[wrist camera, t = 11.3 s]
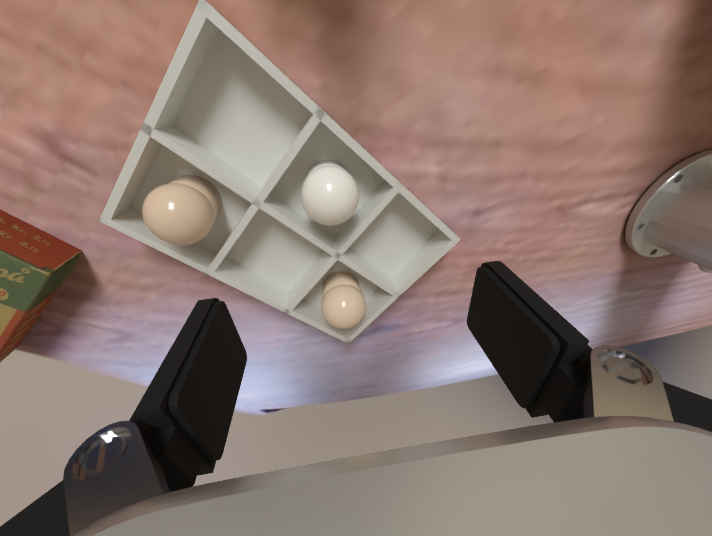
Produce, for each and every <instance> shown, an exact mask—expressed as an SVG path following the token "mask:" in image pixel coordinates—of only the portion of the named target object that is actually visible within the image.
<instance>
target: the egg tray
mask: <svg viewBox="0 0 712 536" xmlns="http://www.w3.org/2000/svg"><path fill="white" fill-rule="evenodd" d="M321 160H333V161H336V162H338V163H340V164H342V165H343V166H344V167H345V168H346V169H347V171H348V173H349V174H350V175H351V176H352V177H353V178H354V180H355V181H356V183H357V186H358V190H359V203H358V207H357V209H356V211H355V213H354V214H353V215H352V216H351V217H350V218H349V219H348V220H347V221H345V222H344V223H341V224H339V225H333V226H328V225H323V224H320V223H318V222H316V221H314V220H313V219H312V218H311V217H310V216H309V215H308V214H307V213H306V211H305V209H304V207H303V205H302V201H301V188H302V185H303V182H304V180H305V176H306V173H307V171H308V170H309V168H310V167H311V166H312V165H313V164H315V163H316V162H318V161H321ZM182 175H195V176H199V177H202V178H204V179H206V180H207V181H209V182H210V183H211V184H212V185H213V186H214V187H215V188H216V189H217V190H218V192H219V194H220V196H221V199H222V209H221V212H220V214H219V215H218V216H217V218H216V219H215V221H214V224H213V227H212V229H211V231H210V232H209V234H208V235H207V236H206V237H205V238H203V239H202V240H200V241H198V242H196V243H193V244H189V245H175V244H171V243H167V242H165V241H163V240H161V239H159V238H158V237H156V236H155V235H154V234H153V233H152V232H151V231H150V230H149V229H148V228H147V226H146V224H145V222H144V220H143V215H142V207H143V203H144V200H145V198H146V197H147V195H148V194H149V193H150V192H151V191H152V190H154V189H155V188H157V187H159V186H161V185H164V184H168V183H170V182H171V181H173V180H174V179H176V178H177V177H179V176H182ZM99 221H100V222H102V223H104V224H106V225H108V226H110V227H112V228H114V229H116V230H118V231H120V232H122V233H124V234H126V235H128V236H130V237H132V238H134V239H136V240H138V241H141V242H143V243H145V244H147V245H149V246H151V247H153V248H155V249H157V250H159V251H161V252H163V253H165V254H167V255H169V256H171V257H173V258H175V259H177V260H179V261H181V262H183V263H185V264H187V265H189V266H191V267H193V268H195V269H197V270H199V271H201V272H203V273H205V274H208V275H210V276H212V277H214V278H216V279H218V280H220V281H222V282H224V283H226V284H228V285H230V286H232V287H234V288H236V289H238V290H240V291H242V292H244V293H246V294H248V295H250V296H252V297H254V298H256V299H258V300H260V301H262V302H264V303H266V304H268V305H270V306H272V307H275V308H277V309H279V310H281V311H283V312H285V313H287V314H289V315H291V316H293V317H295V318H297V319H299V320H301V321H303V322H305V323H307V324H309V325H311V326H313V327H315V328H317V329H319V330H321V331H323V332H325V333H327V334H329V335H331V336H333V337H335V338H337V339H339V340H341V341H344V342H346V343H348V344H349V343H350V342H351V341H352V340H353V339H354V338H355V337H356V336H357V335H358V334H360V333H361V332H362V331H363V330H364V329H365V328H366V327H367V326H368V325H369V324H370V323H371V322H372V321H374V320H375V319H376V318H377V317H378V316H379V315H380V314H381V313H382V312H383V311H384V310H385V309H386V308H388V307H389V306H390V305H391V304H392V303H393V302H394V301H395V300H396V299H397V298H398V297H399V296H400V295H402V294H403V293H404V292H405V291H406V290H407V289H408V288H409V287H410V286H411V285H412V284H413V283H414V282H415V281H417V280H418V279H419V278H420V277H421V276H422V275H423V274H424V273H425V272H426V271H427V270H428V269H429V268H431V267H432V266H433V265H434V264H435V263H436V262H437V261H438V260H439V259H440V258H441V257H442V256H443V255H445V254H446V253H447V252H448V251H449V250H450V249H451V248H452V247H453V246H454V245H455V244H456V243H457V242H459V241H460V240H461V239H460V238H459V237H458V236H457V235H455V234H454V233H453V232H452V231H451V230H450V229H449V228H448V227H447V226H446V225H445V224H444V223H443V222H442V221H441V220H440V219H439V218H438V217H437V216H436V215H434V214H433V213H432V212H431V211H430V210H429V209H428V208H427V207H426V206H425V205H424V204H423V203H422V202H421V201H420V200H418V199H417V198H416V197H415V196H414V195H413V194H412V193H411V192H410V191H409V190H408V189H407V188H406V187H405V186H403V185H402V184H401V183H400V182H399V181H398V180H397V179H396V178H395V177H394V176H393V175H392V174H391V173H390V172H389V171H387V170H386V169H385V168H384V167H383V166H382V165H381V164H380V163H379V162H378V161H377V160H376V159H375V158H374V157H373V156H371V155H370V154H369V153H368V152H367V151H366V150H365V149H364V148H363V147H362V146H361V145H360V144H359V143H358V142H356V141H355V140H354V139H353V138H352V137H351V136H350V135H349V134H348V133H347V132H346V131H345V130H344V129H343V128H342V127H340V126H339V125H338V124H337V123H336V122H335V121H334V120H333V119H332V118H331V117H330V116H329V115H328V114H327V113H325V112H324V111H323V110H322V109H321V108H320V107H319V106H318V105H317V104H316V103H315V102H314V101H313V100H312V99H311V98H309V97H308V96H307V95H306V94H305V93H304V92H303V91H302V90H301V89H300V88H299V87H298V86H297V85H296V84H295V83H293V82H292V81H291V80H290V79H289V78H288V77H287V76H286V75H285V74H284V73H283V72H282V71H281V70H280V69H278V68H277V67H276V66H275V65H274V64H273V63H272V62H271V61H270V60H269V59H268V58H267V57H266V56H265V55H264V54H262V53H261V52H260V51H259V50H258V49H257V48H256V47H255V46H254V45H253V44H252V43H251V42H250V41H249V40H248V39H246V38H245V37H244V36H243V35H242V34H241V33H240V32H239V31H238V30H237V29H236V28H235V27H234V26H233V25H231V24H230V23H229V22H228V21H227V20H226V19H225V18H224V17H223V16H222V15H221V14H220V13H219V12H218V11H216V10H215V9H214V8H213V7H212V6H211V5H210V4H208V3H207V2H206V1H205V0H199V2H198V4H197V6H196V9H195V11H194V13H193V15H192V17H191V20H190V22H189V24H188V26H187V28H186V31H185V33H184V35H183V37H182V39H181V42H180V44H179V46H178V48H177V50H176V53H175V55H174V57H173V59H172V61H171V64H170V66H169V68H168V70H167V72H166V75H165V77H164V79H163V81H162V83H161V86H160V88H159V90H158V92H157V94H156V97H155V99H154V101H153V103H152V105H151V108H150V110H149V112H148V114H147V116H146V119H145V121H144V123H143V125H142V127H141V130H140V132H139V134H138V136H137V138H136V141H135V143H134V145H133V147H132V149H131V152H130V154H129V156H128V158H127V160H126V163H125V165H124V167H123V169H122V171H121V174H120V176H119V178H118V180H117V182H116V185H115V187H114V189H113V191H112V193H111V196H110V198H109V200H108V202H107V204H106V207H105V209H104V211H103V213H102V215H101V217H100V220H99ZM338 271H346V272H350V273H352V274H353V275H355V276H356V278H357V279H358V281H359V285H360V289H361V293H362V294H363V296H364V298H365V301H366V312H365V315H364V317H363V319H362V320H361V322H360V323H359V324H358V325H356V326H355V327H353V328H350V329H337V328H334V327H333V326H331V325H330V324H328V323H327V322H326V320H325V319H324V317H323V315H322V311H321V302H322V299H323V297H322V284H323V281H324V280H325V278H326V277H327V276H328V275H330V274H332V273H334V272H338Z"/></svg>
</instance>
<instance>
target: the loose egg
mask: <svg viewBox="0 0 712 536" xmlns="http://www.w3.org/2000/svg"><path fill="white" fill-rule="evenodd" d="M301 201H302V205H303V207H304V209H305V211H306V213H307V214H308V215H309V216H310V217H311V218H312V219H313V220H314V221H316V222H318V223H320V224H323V225H328V226H333V225H339V224H341V223H344V222H345V221H347V220H348V219H349V218H350V217H351V216H352V215H353V214H354V213H355V211H356V209H357V207H358V203H359V190H358V186H357V183H356V181H355V180H354V178H353V177H352V176H351V175H350V174H349V173H348V171H347V169H346V168H345V167H344V166H343V165H342V164H340V163H338V162H336V161H333V160H321V161H318V162H316V163H315V164H313V165H312V166H311V167H310V168H309V170H308V171H307V173H306V176H305V180H304V182H303V185H302V188H301Z"/></svg>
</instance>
